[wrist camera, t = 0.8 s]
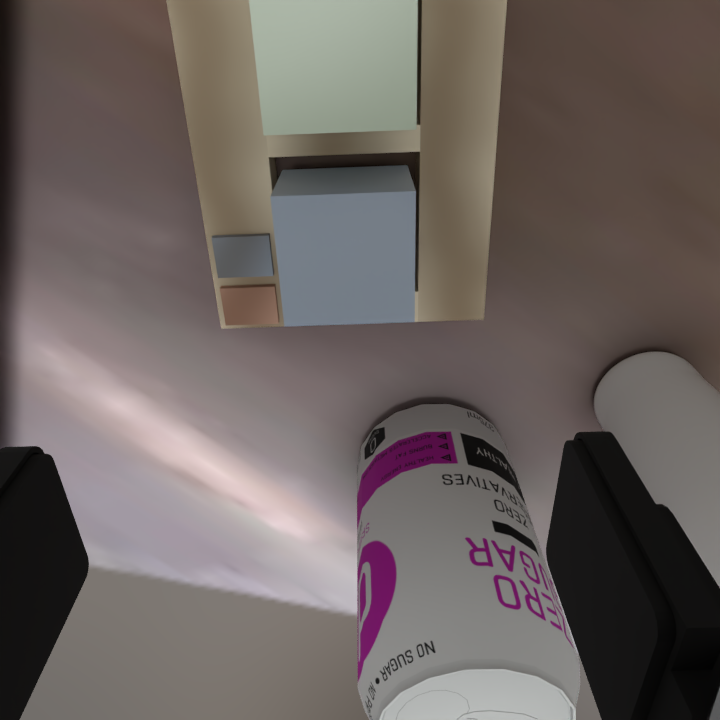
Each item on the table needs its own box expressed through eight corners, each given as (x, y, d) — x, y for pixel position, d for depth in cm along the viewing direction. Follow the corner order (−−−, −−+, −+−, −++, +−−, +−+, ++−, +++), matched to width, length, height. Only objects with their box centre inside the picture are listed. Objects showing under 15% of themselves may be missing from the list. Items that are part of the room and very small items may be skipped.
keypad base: (522, -409, 18) (542, -460, 16) (476, 301, 30) (484, 322, 28) (119, -389, 18) (90, -437, 16) (229, 310, 30) (219, 331, 28)
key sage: (407, -45, 21) (418, -55, 17) (407, 111, 23) (416, 129, 20) (262, -39, 21) (243, -48, 18) (277, 116, 23) (263, 135, 20)
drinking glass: (573, 347, 31) (732, 593, 18) (712, 322, 30) (981, 559, 17) (577, 450, 34) (713, 722, 21) (702, 430, 34) (922, 698, 21)
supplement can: (348, 502, 36) (343, 781, 23) (371, 385, 32) (382, 644, 19) (481, 518, 37) (550, 797, 24) (521, 406, 33) (630, 668, 20)
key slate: (407, 165, 24) (415, 191, 21) (407, 281, 27) (414, 322, 23) (282, 169, 24) (270, 196, 21) (293, 285, 27) (284, 326, 24)
